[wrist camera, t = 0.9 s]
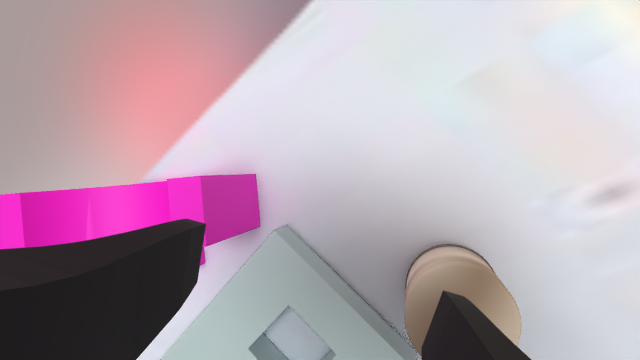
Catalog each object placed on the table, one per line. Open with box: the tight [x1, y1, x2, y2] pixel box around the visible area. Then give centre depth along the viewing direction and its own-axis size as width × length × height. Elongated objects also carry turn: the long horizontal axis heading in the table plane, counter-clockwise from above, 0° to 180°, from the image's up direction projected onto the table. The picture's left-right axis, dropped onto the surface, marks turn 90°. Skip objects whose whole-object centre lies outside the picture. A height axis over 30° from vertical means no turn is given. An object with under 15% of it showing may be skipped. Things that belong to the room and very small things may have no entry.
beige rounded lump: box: [405, 244, 521, 355], centre depth 21 cm, size 5×5×7 cm
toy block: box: [0, 174, 260, 265], centre depth 26 cm, size 15×6×8 cm, turn 94°
